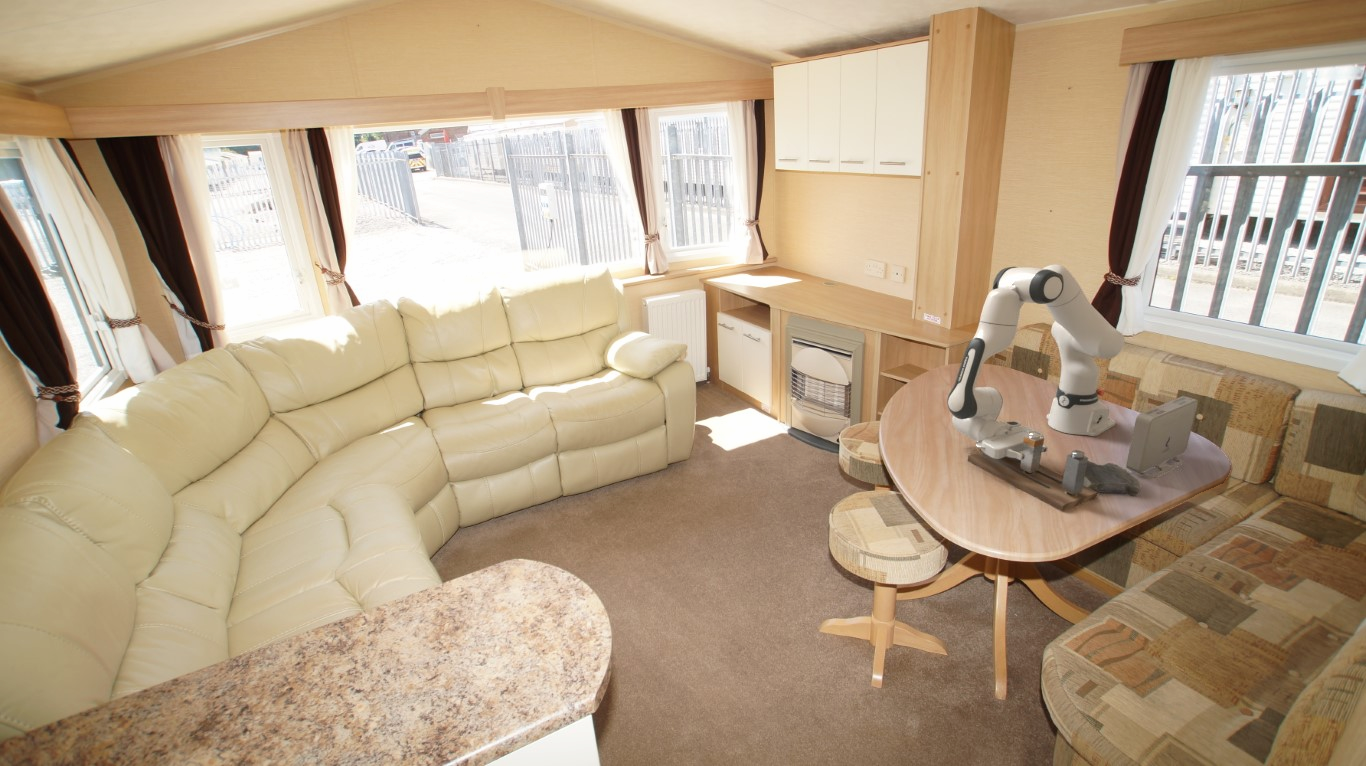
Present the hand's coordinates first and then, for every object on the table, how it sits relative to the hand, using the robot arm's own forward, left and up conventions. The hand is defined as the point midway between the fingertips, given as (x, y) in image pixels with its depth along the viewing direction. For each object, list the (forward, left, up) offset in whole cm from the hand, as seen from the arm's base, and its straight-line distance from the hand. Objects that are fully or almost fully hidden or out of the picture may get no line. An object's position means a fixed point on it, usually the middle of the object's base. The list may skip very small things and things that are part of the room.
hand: (1034, 453), depth 190 cm
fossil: (-17, +11, -10) cm, 22 cm away
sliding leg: (0, -1, -7) cm, 7 cm away
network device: (-39, +12, -9) cm, 41 cm away
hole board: (0, -1, -9) cm, 9 cm away
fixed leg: (0, +13, -7) cm, 15 cm away
